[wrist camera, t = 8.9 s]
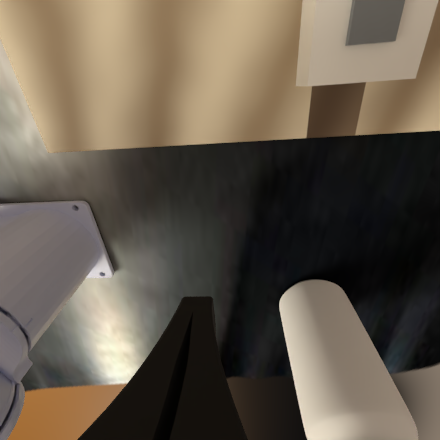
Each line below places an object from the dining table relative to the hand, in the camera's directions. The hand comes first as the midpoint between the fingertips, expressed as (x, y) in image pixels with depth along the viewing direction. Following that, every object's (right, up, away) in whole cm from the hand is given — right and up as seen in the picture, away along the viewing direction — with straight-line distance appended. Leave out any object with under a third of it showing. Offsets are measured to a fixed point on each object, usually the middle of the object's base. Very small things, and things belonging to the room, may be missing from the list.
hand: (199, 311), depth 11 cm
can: (+10, -4, +13) cm, 17 cm away
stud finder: (+8, +15, +1) cm, 17 cm away
